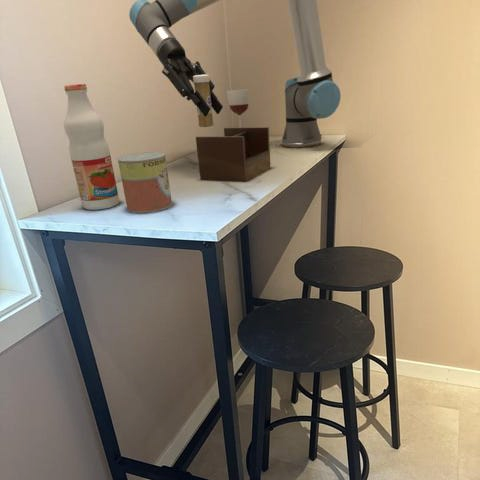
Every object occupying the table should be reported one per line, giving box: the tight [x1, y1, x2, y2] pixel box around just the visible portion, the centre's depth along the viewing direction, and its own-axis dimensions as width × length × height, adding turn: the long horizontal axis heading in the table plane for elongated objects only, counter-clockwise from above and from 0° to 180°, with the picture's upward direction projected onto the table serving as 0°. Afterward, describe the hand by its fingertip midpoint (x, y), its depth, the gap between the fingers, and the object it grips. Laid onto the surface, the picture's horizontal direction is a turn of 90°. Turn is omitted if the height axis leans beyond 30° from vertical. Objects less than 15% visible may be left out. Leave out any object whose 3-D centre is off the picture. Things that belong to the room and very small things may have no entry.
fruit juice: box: [63, 83, 120, 211], centre depth 113 cm, size 9×9×28 cm
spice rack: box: [195, 126, 271, 183], centre depth 138 cm, size 18×15×12 cm
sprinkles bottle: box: [192, 74, 214, 128], centre depth 133 cm, size 5×5×13 cm
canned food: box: [117, 151, 173, 214], centre depth 112 cm, size 11×11×12 cm
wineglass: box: [226, 88, 250, 128], centre depth 185 cm, size 8×9×20 cm
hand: (213, 111), depth 132 cm, fingers closed on sprinkles bottle, 4 cm apart
